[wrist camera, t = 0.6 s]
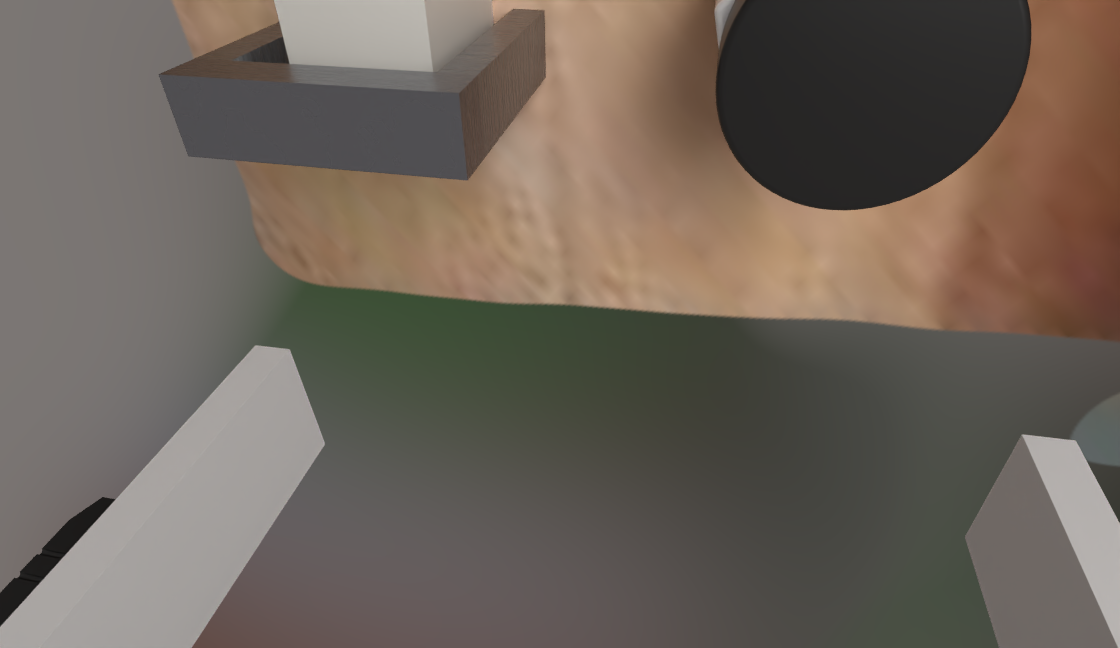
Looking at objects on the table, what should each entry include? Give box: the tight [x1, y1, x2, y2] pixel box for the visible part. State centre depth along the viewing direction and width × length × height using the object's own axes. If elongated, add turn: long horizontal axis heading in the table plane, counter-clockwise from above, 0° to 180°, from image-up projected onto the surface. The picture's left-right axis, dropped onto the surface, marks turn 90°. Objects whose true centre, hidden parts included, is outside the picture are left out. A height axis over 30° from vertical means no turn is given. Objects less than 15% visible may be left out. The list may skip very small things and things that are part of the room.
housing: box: [159, 9, 546, 180], centre depth 28 cm, size 3×11×12 cm, turn 91°
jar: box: [714, 0, 1031, 210], centre depth 23 cm, size 9×8×12 cm
